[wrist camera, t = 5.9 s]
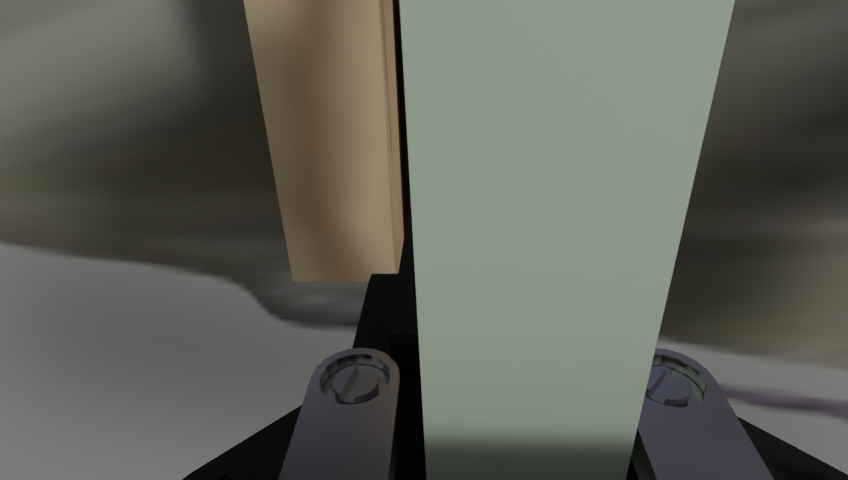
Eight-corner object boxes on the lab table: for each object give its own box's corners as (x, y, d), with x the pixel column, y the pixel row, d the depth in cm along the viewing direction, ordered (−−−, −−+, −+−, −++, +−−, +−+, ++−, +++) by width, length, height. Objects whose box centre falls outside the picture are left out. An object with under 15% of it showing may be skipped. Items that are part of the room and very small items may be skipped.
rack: (547, -101, 26) (574, -112, 21) (520, 244, 36) (533, 301, 31) (273, -92, 27) (225, -101, 21) (320, 244, 37) (296, 299, 31)
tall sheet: (522, -135, 13) (850, -513, 2) (500, 367, 20) (550, 809, 10) (439, -131, 13) (373, -469, 2) (449, 367, 21) (444, 804, 10)
